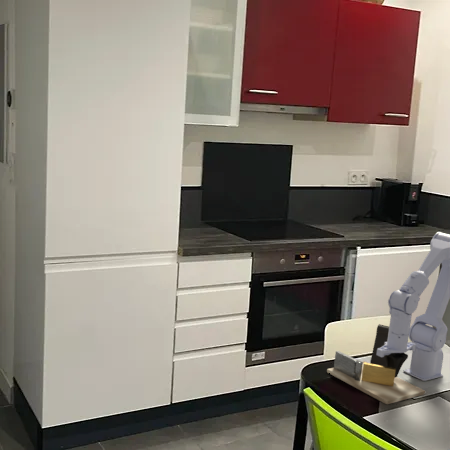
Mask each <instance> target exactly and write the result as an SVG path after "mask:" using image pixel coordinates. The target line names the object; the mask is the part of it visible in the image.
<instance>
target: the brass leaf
mask: <svg viewBox="0 0 450 450" xmlns="http://www.w3.org/2000/svg"><path fill="white" fill-rule="evenodd" d="M365 362H366V361H365ZM365 362H364V365H363V372H362V380H364V381H369V382H374V383H379V384H384V385H389V386H393V385H394V378H395V371H396V368H391V367H386V366H381V365H375V364H370V362H367V363H365Z"/></svg>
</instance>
